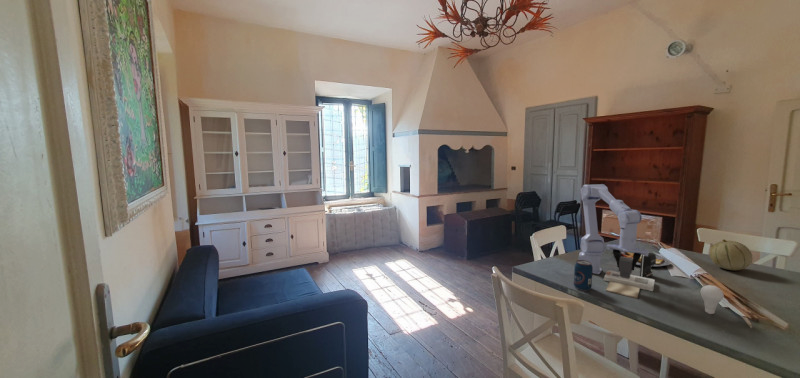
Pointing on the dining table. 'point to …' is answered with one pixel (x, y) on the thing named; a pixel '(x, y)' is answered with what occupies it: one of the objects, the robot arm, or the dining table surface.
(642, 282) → the white slotted block
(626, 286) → the pad
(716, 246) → the cantaloupe
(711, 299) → the lightbulb
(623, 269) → the block
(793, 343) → the dining table surface
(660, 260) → the food plate
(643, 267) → the battery charger
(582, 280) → the soda can
